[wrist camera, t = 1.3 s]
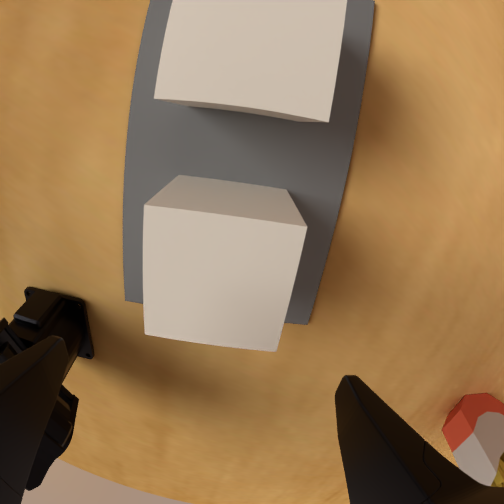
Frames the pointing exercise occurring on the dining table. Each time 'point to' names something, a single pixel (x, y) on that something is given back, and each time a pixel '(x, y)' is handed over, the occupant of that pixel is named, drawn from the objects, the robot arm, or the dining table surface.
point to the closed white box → (253, 56)
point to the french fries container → (478, 438)
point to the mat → (244, 151)
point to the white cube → (220, 262)
